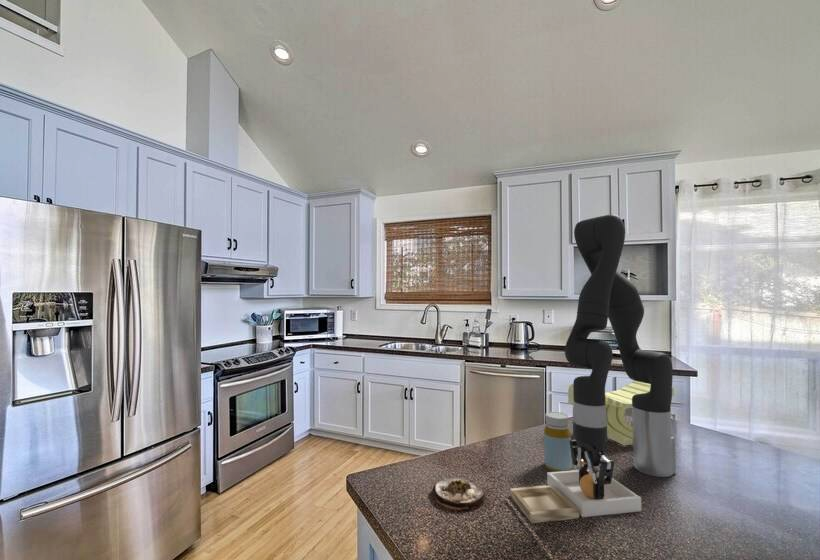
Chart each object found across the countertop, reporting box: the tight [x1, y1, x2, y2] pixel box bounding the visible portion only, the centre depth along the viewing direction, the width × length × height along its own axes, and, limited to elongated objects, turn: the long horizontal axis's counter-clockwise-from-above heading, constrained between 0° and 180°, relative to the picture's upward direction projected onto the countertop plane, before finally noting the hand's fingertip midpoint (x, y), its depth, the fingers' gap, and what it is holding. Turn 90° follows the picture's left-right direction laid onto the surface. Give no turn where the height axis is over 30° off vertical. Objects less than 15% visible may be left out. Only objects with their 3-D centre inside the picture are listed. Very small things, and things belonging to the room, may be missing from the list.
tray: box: [509, 484, 580, 524], centre depth 86 cm, size 11×11×2 cm
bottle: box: [543, 411, 572, 472], centre depth 106 cm, size 7×7×15 cm
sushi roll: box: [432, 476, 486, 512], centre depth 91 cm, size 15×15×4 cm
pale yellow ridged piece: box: [567, 380, 675, 445], centre depth 131 cm, size 30×16×18 cm, turn 105°
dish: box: [546, 469, 642, 518], centre depth 90 cm, size 15×15×4 cm
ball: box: [580, 474, 594, 498], centre depth 90 cm, size 5×5×5 cm
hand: (591, 492), depth 90 cm, fingers closed on ball, 5 cm apart
